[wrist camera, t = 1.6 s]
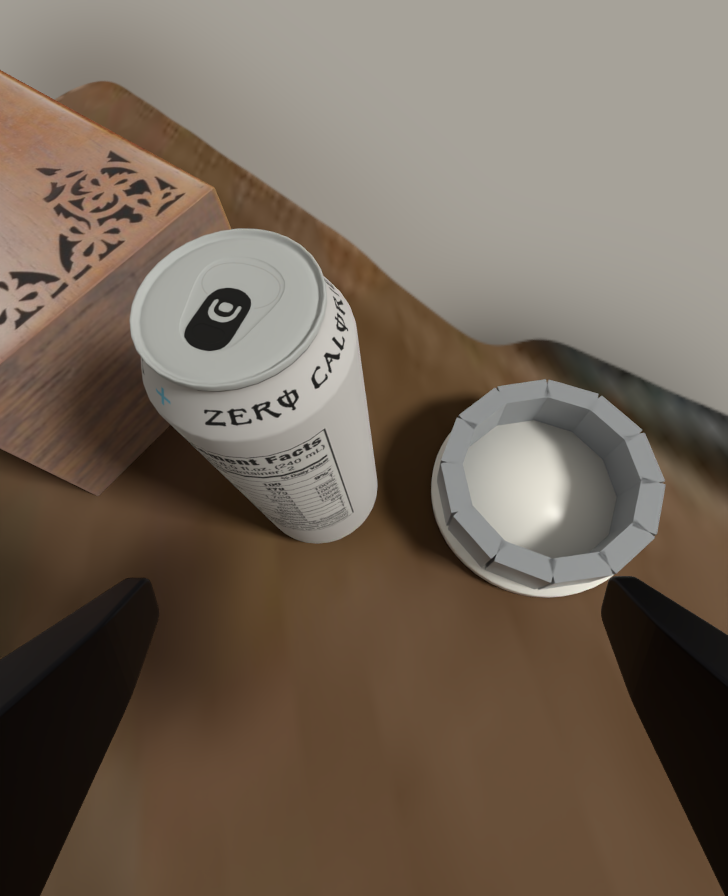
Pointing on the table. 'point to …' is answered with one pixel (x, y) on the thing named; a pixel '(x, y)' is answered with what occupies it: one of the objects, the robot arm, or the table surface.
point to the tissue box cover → (81, 283)
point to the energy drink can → (262, 376)
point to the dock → (546, 489)
